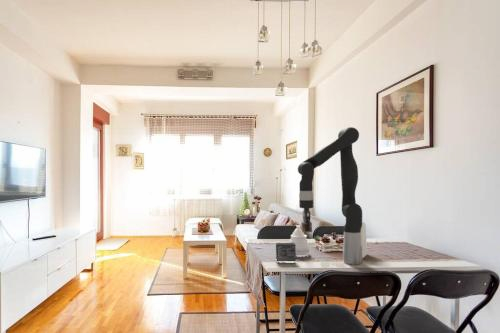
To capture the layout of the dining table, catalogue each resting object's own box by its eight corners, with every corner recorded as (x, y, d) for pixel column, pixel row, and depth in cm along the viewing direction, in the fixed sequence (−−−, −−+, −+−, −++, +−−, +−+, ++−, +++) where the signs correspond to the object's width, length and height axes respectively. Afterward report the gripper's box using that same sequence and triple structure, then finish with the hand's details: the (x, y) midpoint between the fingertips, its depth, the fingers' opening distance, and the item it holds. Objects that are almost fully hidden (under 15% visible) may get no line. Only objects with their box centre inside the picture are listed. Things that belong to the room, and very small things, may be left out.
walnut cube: (310, 230, 197) (310, 221, 197) (311, 231, 192) (311, 222, 192) (301, 230, 197) (301, 221, 197) (302, 232, 192) (302, 222, 192)
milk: (348, 252, 225) (347, 211, 226) (367, 254, 219) (366, 211, 220) (342, 256, 215) (342, 212, 215) (362, 258, 209) (361, 213, 209)
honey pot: (308, 257, 212) (308, 227, 212) (287, 256, 214) (287, 226, 215) (309, 252, 224) (309, 224, 225) (289, 252, 227) (289, 223, 227)
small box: (294, 260, 205) (294, 242, 205) (296, 263, 199) (295, 244, 199) (275, 260, 205) (275, 242, 205) (277, 263, 198) (277, 244, 198)
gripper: (315, 200, 188) (315, 232, 187) (311, 198, 202) (311, 228, 202) (300, 200, 188) (301, 232, 188) (298, 198, 202) (298, 228, 202)
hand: (306, 230), depth 195 cm, fingers closed on walnut cube, 5 cm apart
